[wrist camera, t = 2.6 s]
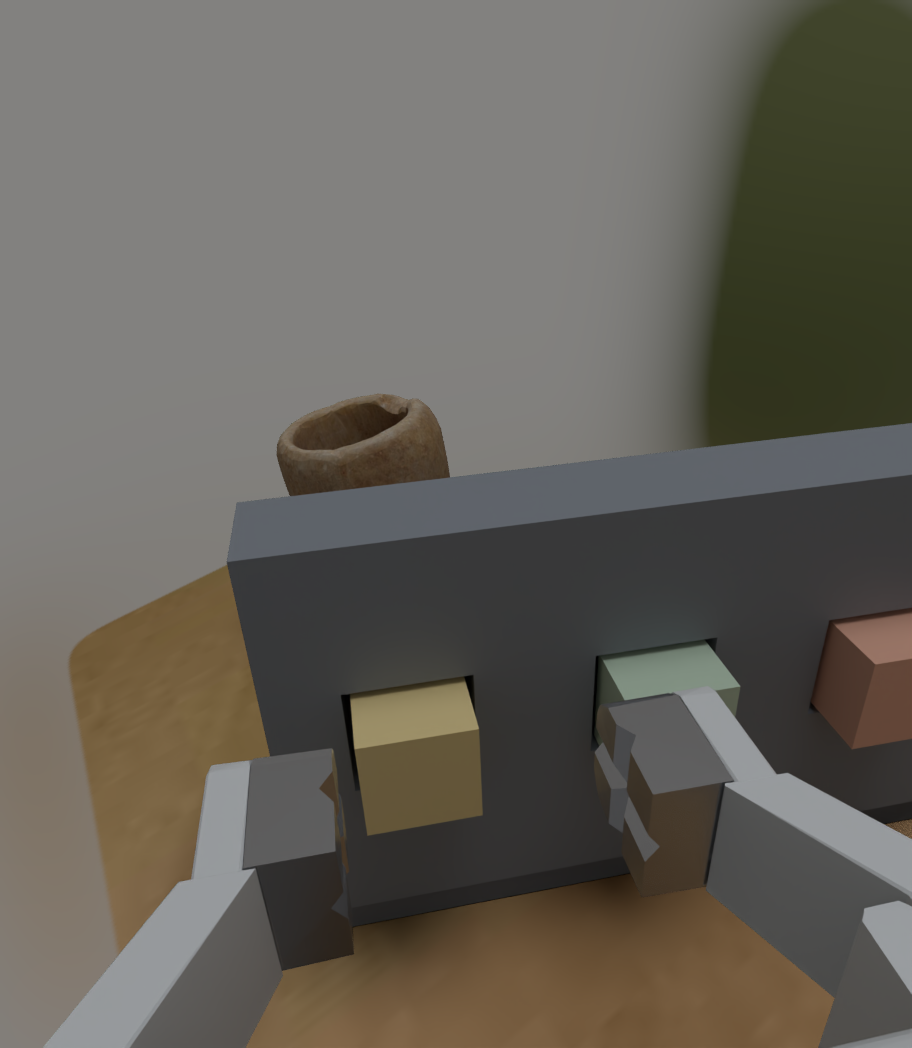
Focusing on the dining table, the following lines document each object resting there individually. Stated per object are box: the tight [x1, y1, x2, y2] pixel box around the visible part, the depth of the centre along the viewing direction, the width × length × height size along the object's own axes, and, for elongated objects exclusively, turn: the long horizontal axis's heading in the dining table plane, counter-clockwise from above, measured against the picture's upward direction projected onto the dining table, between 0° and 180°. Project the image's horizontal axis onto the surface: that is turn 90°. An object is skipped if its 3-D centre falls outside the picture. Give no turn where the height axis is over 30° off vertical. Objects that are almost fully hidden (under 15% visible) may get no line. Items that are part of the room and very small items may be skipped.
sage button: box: [594, 640, 740, 746], centre depth 28 cm, size 3×4×4 cm
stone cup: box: [277, 394, 450, 496], centre depth 46 cm, size 15×12×15 cm
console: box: [227, 423, 912, 927], centre depth 31 cm, size 6×28×18 cm, turn 100°
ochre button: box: [350, 676, 483, 836], centre depth 26 cm, size 3×4×4 cm
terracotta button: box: [810, 608, 912, 749], centre depth 29 cm, size 3×4×4 cm
